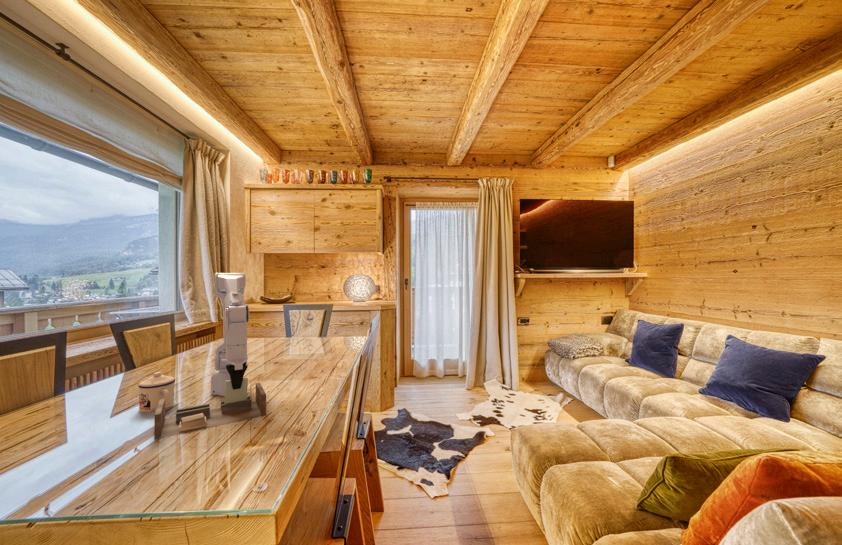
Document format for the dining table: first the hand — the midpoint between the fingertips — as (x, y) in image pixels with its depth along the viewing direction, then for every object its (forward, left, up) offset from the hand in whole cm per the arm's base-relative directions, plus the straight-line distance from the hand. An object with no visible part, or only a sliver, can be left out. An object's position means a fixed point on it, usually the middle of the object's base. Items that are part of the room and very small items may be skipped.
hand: (236, 387), depth 102 cm
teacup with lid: (-25, -4, -8) cm, 26 cm away
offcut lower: (-3, -13, -6) cm, 15 cm away
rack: (-2, -7, -8) cm, 10 cm away
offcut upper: (-3, -13, -5) cm, 14 cm away
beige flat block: (0, 0, -5) cm, 5 cm away
